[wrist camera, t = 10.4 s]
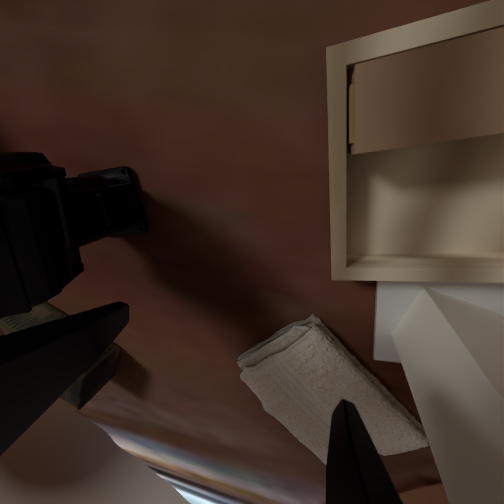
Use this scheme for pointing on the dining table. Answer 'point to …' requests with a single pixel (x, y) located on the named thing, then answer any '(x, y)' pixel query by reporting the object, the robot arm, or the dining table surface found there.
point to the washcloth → (324, 389)
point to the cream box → (458, 391)
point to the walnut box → (428, 95)
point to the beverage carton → (91, 377)
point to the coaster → (405, 292)
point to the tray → (414, 178)
